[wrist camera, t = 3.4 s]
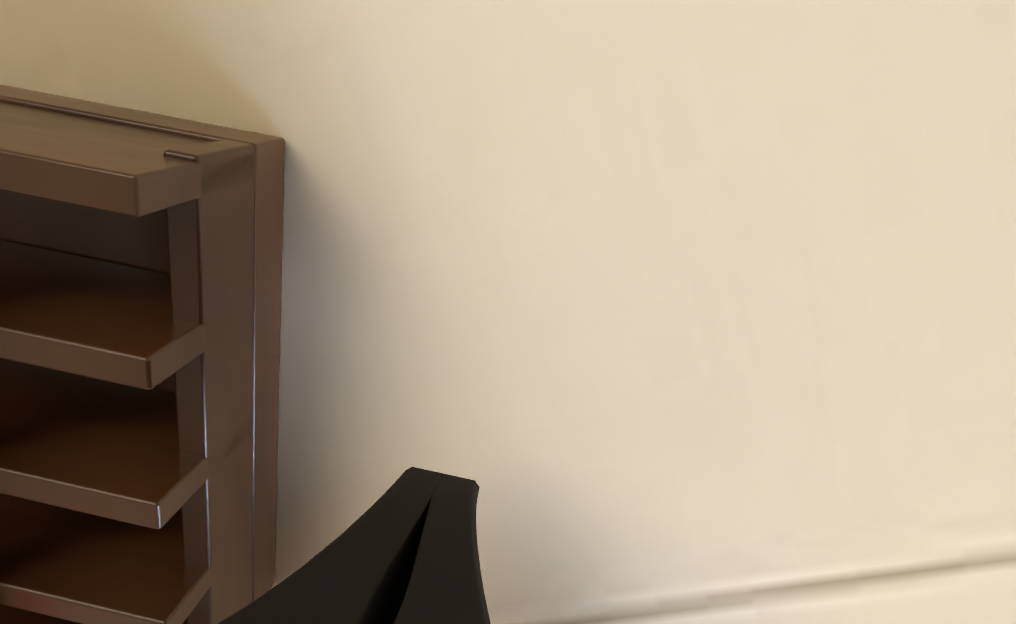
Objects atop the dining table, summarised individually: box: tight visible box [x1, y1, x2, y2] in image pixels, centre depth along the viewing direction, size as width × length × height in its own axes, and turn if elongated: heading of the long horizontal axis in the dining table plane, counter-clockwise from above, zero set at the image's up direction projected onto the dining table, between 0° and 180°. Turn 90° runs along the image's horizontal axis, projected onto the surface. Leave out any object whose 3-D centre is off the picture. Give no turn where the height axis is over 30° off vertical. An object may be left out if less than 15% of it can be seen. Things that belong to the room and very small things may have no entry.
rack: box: [0, 85, 285, 624], centre depth 12 cm, size 8×12×5 cm, turn 171°
